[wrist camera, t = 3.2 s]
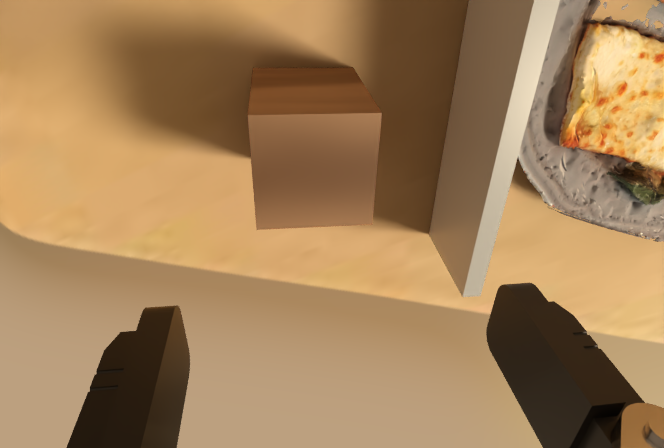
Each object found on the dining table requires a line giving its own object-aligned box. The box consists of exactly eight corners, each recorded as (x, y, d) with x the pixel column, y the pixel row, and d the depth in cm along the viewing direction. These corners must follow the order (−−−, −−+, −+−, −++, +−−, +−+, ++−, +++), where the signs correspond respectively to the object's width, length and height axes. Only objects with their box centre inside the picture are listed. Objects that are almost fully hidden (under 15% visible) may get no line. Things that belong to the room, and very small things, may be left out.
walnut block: (253, 67, 22) (247, 115, 16) (352, 67, 23) (382, 112, 17) (259, 160, 25) (256, 229, 19) (348, 157, 25) (372, 224, 20)
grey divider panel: (498, -175, 18) (585, -216, 13) (521, -173, 18) (617, -213, 13) (428, 234, 29) (462, 297, 24) (443, 233, 29) (480, 295, 24)
